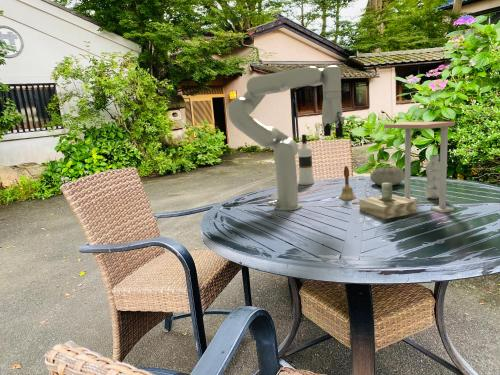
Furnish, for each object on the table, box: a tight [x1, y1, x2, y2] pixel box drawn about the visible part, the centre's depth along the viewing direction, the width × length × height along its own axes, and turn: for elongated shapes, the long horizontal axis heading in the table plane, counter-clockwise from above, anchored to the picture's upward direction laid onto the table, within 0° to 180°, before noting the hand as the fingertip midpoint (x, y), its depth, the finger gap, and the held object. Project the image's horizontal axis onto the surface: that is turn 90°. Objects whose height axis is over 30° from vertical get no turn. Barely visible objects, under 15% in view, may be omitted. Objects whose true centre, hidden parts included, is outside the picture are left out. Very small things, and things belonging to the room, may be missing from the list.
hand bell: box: [338, 165, 357, 201], centre depth 180 cm, size 8×8×16 cm
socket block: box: [358, 193, 418, 220], centre depth 153 cm, size 16×16×5 cm
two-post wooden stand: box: [383, 121, 456, 213], centre depth 154 cm, size 14×26×36 cm, turn 18°
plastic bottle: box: [424, 154, 440, 200], centre depth 166 cm, size 6×7×20 cm
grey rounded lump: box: [369, 166, 405, 187], centre depth 203 cm, size 18×18×10 cm
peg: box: [381, 183, 393, 202], centre depth 152 cm, size 4×4×11 cm
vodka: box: [297, 134, 315, 186], centre depth 220 cm, size 9×9×30 cm
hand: (333, 136), depth 160 cm, fingers open, 9 cm apart
